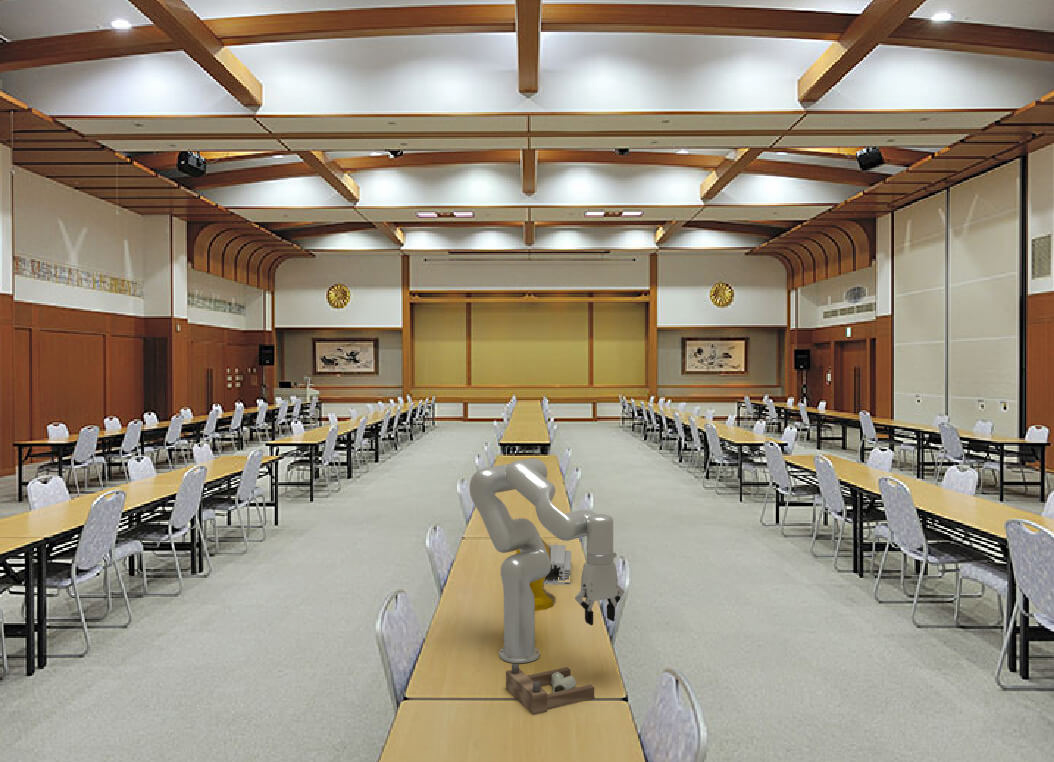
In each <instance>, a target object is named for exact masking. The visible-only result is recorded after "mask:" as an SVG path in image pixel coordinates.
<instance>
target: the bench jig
mask: <svg viewBox="0 0 1054 762" xmlns="http://www.w3.org/2000/svg"><path fill="white" fill-rule="evenodd" d="M571 670H572V669H571V668H569V667H568V666H565V667H561V668H556V669H551V670H547V671H543V672H538V673H536V672H535V673H533V674H528V675H527V674H526V673H525V672H524V671H523V670H521V669H520V663H513V664H511V669H510V670H506V671H505V689H506V690H507V692H509V694H511V695H512V696H513V697H514V698H515V699H516V700H517V701H518V702H519V703H521V705H522V706H523V707H525V708H526V709H527V710H528V712H530V713H531V715H533V716H534V715H538V714H541V713H546V712H548V710H550V709H553V708H559V707H563V706H567V705H572V704H577V703H581V702H583V701H588V700H589V701H590V700H592V699H595V687H594V685H592V684H586V685H582V686H578V687H574V688H572V689H568V690H563V691H559V692H555V693H553V692H551V693H548V692H547V690H545V689H544V688H542V687H543V686H544V687H545V686H549V685H552V684H551V675H552V674H554V673H556V672H559V673H561V674H562V675H563V676H564V678H565V677H568V676H572V674H571V673H572V672H571Z"/></svg>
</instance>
